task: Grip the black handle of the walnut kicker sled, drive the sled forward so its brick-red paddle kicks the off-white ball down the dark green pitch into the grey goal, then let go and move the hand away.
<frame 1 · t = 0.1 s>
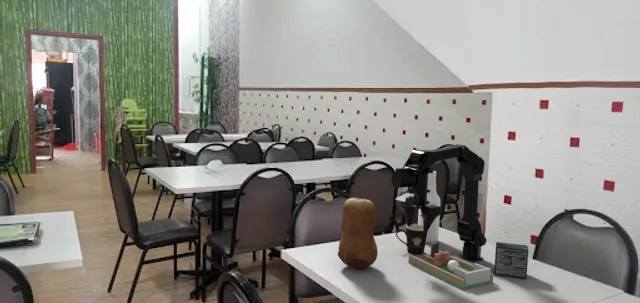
hand: (417, 229, 171), 14 cm above the table, tool pointing down, fingers open, 9 cm apart
coffee mug: (411, 251, 192), on the table
small box: (509, 274, 171), on the table
butternut squash: (356, 267, 173), on the table
pitch: (448, 272, 171), on the table
alcohol: (427, 240, 208), on the table
ball: (453, 265, 168), point 3 cm above the table, touching pitch
kicker: (436, 253, 176), point 5 cm above the table, slide at 0.0 cm
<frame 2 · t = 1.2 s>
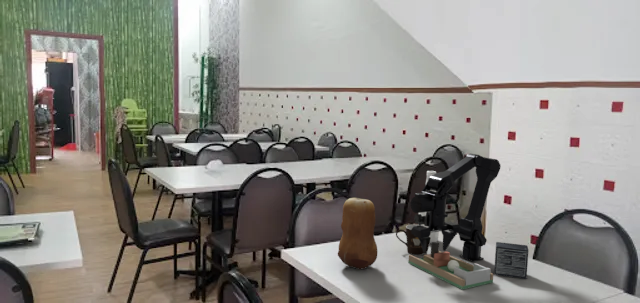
hand: (434, 252, 177), 5 cm above the table, tool pointing down, fingers open, 9 cm apart
nothing on the table moved.
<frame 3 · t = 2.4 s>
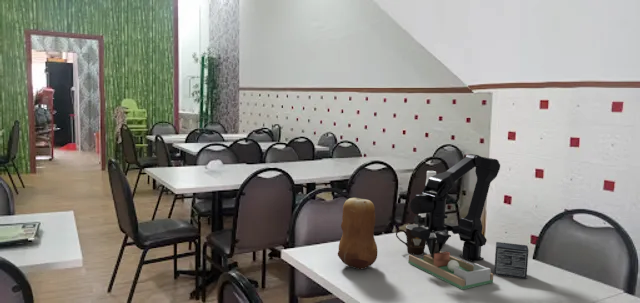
hand: (434, 253, 177), 5 cm above the table, tool pointing down, fingers closed on kicker, 3 cm apart
kicker: (436, 253, 176), point 5 cm above the table, slide at 0.0 cm, touching gripper
everything else where it was.
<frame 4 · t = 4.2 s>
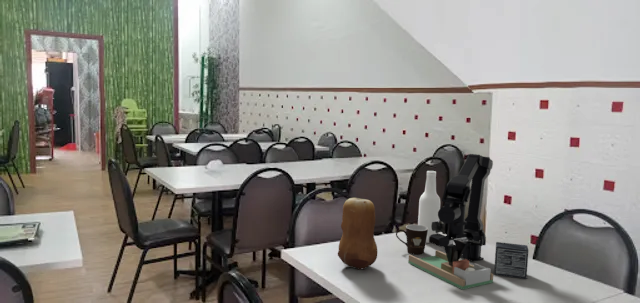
hand: (453, 261, 168), 5 cm above the table, tool pointing down, fingers closed on kicker, 3 cm apart
ball: (470, 273, 162), point 3 cm above the table, tilted 137°, touching pitch
kicker: (454, 261, 168), point 5 cm above the table, slide at 9.3 cm, touching gripper
everything else where it was.
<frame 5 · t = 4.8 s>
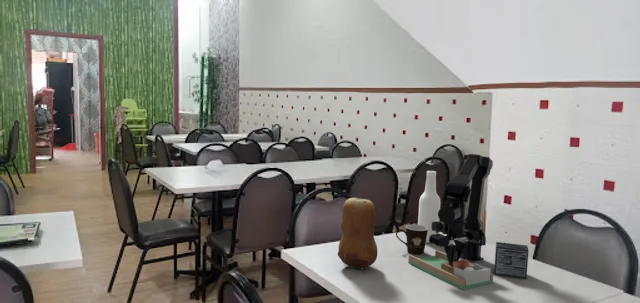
hand: (453, 261, 168), 5 cm above the table, tool pointing down, fingers closed on kicker, 3 cm apart
ball: (469, 272, 162), point 3 cm above the table, tilted 156°, touching pitch
kicker: (454, 261, 168), point 5 cm above the table, slide at 9.3 cm, touching gripper
everything else where it was.
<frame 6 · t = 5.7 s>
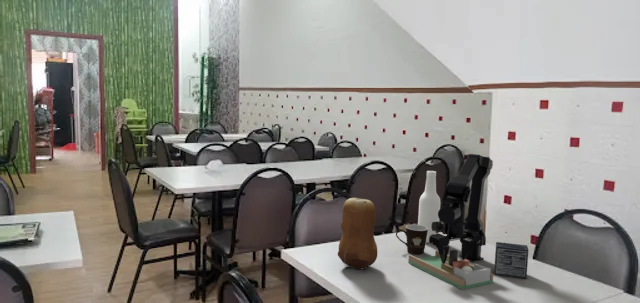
hand: (453, 261, 168), 5 cm above the table, tool pointing down, fingers open, 9 cm apart
ball: (466, 271, 163), point 3 cm above the table, tilted 176°, touching pitch
kicker: (454, 261, 168), point 5 cm above the table, slide at 9.3 cm
everything else where it was.
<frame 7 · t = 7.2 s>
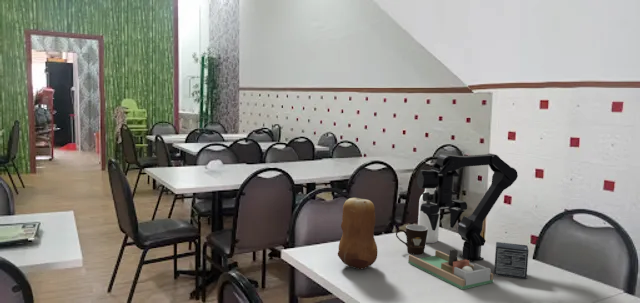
hand: (442, 228, 182), 12 cm above the table, tool pointing down, fingers open, 9 cm apart
nothing on the table moved.
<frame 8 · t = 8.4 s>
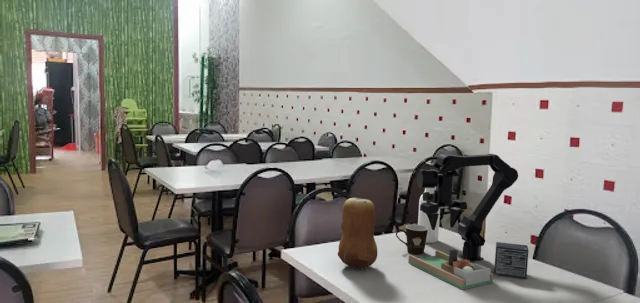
hand: (442, 228, 183), 12 cm above the table, tool pointing down, fingers open, 9 cm apart
nothing on the table moved.
at the end: ball 1.2 cm from the target spot, point 3.0 cm above the table; kicker slide at 9.3 cm; the gripper is holding nothing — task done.
